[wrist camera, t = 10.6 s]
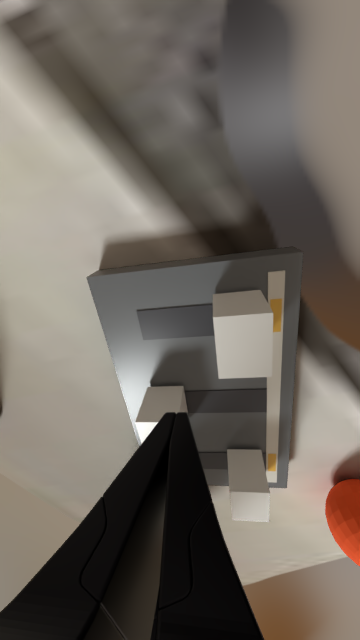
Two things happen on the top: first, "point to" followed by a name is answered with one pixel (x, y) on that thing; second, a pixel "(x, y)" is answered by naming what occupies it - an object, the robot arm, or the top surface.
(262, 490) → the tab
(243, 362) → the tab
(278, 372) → the switch bank
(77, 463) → the top surface
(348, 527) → the red tomato
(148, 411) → the tab middle
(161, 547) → the robot arm
